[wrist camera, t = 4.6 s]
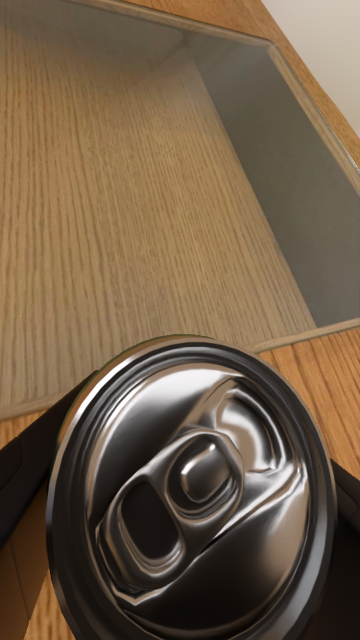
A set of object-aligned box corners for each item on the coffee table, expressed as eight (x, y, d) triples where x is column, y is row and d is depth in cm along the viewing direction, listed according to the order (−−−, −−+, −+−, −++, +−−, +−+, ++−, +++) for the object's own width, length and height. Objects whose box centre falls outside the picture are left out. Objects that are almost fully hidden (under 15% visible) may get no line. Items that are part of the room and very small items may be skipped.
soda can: (208, 427, 15) (420, 514, 3) (143, 482, 13) (149, 989, 2) (167, 364, 16) (228, 274, 4) (102, 407, 14) (-56, 435, 3)
